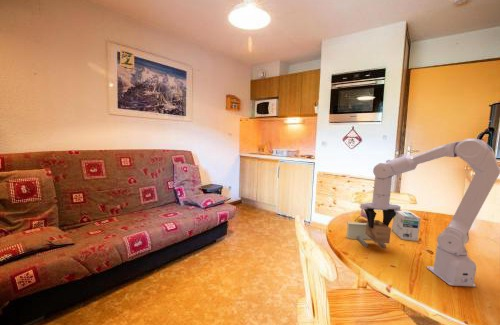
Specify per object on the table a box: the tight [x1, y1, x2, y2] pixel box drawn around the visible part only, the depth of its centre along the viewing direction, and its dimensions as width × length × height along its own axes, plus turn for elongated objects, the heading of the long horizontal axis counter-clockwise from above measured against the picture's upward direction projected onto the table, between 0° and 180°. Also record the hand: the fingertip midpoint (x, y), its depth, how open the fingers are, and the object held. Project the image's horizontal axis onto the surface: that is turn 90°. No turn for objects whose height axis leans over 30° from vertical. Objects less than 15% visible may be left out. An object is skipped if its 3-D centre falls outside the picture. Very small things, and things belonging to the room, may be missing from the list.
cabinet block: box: [366, 219, 392, 244], centre depth 89 cm, size 8×5×7 cm, turn 0°
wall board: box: [346, 221, 387, 249], centre depth 94 cm, size 9×16×7 cm, turn 90°
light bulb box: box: [391, 208, 422, 242], centre depth 102 cm, size 11×7×11 cm, turn 168°
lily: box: [354, 208, 368, 222], centre depth 117 cm, size 12×12×10 cm
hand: (377, 227), depth 89 cm, fingers closed on cabinet block, 5 cm apart
